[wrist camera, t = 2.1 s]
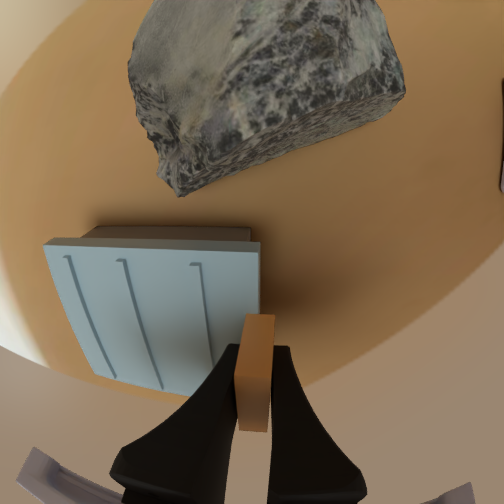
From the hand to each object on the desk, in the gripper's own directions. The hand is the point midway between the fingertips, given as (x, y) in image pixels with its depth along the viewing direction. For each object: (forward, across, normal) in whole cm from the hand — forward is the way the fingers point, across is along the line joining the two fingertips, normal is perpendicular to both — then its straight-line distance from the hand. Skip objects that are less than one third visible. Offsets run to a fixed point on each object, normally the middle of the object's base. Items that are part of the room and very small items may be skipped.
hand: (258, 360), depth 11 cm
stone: (+6, 0, -12) cm, 13 cm away
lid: (+2, +5, 0) cm, 6 cm away
